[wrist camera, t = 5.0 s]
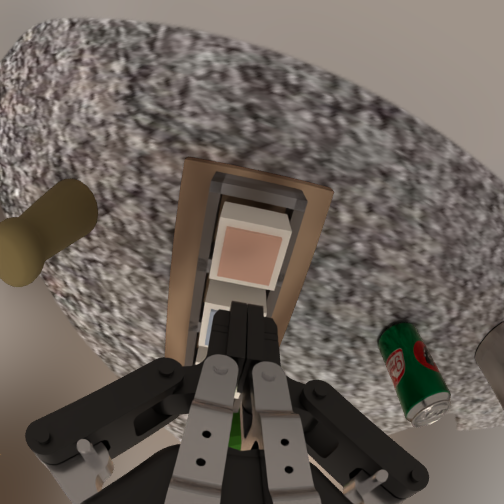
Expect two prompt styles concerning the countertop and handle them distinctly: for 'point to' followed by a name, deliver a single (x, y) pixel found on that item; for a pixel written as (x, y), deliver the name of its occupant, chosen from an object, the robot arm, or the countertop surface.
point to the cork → (45, 230)
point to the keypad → (204, 236)
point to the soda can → (414, 375)
